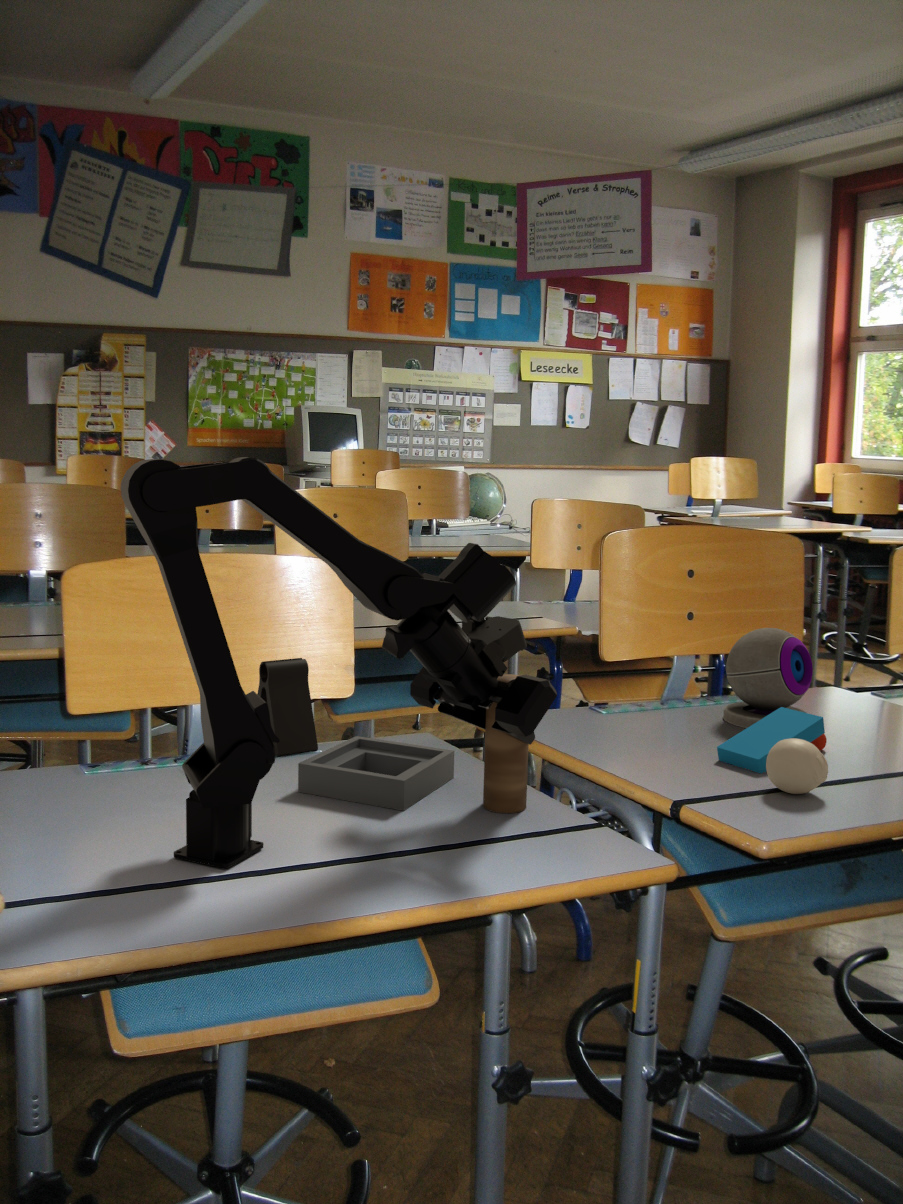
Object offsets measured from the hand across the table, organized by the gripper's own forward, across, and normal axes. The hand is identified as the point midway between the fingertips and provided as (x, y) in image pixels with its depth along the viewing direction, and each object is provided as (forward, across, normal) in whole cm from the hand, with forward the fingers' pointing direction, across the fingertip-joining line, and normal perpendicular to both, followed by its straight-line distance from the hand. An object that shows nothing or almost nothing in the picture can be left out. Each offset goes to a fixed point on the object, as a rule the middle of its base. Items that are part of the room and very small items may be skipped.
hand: (515, 736), depth 117 cm
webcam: (+49, +4, -37) cm, 61 cm away
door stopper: (0, +36, +12) cm, 38 cm away
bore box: (0, +15, +12) cm, 19 cm away
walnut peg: (+5, 0, +7) cm, 8 cm away
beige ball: (+28, -18, -16) cm, 37 cm away
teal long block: (+37, -8, -25) cm, 45 cm away
